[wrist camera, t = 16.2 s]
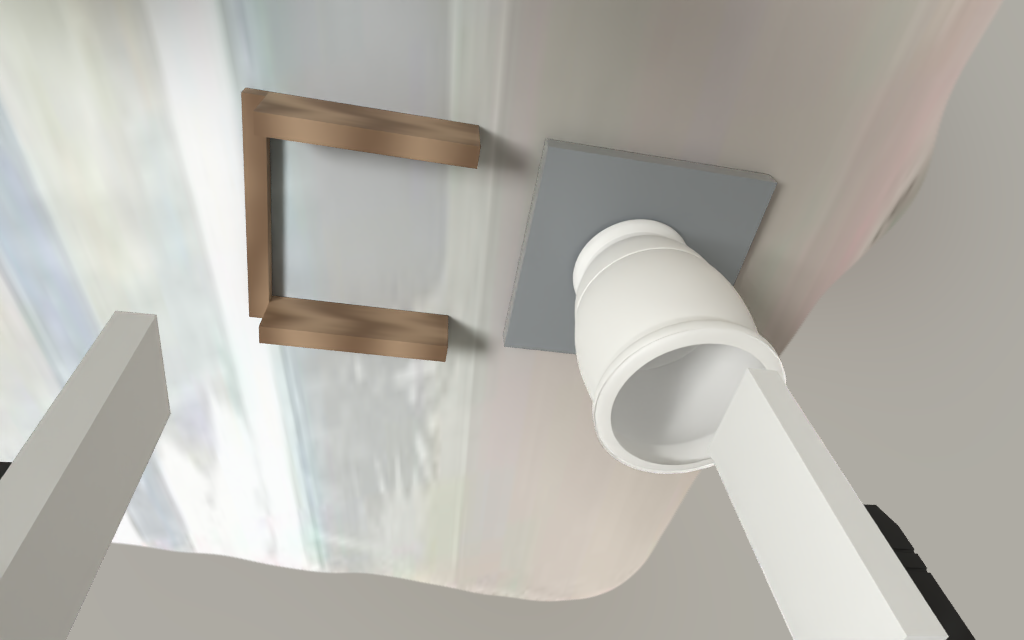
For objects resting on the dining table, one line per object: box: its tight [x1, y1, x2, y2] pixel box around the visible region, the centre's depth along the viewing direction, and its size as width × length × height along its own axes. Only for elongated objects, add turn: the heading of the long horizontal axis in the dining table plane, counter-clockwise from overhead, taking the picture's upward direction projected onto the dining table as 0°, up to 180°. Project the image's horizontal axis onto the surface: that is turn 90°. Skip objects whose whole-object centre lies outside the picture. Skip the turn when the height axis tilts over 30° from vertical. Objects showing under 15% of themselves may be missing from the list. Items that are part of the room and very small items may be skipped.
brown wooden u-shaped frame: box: [241, 88, 481, 362], centre depth 45 cm, size 14×16×4 cm
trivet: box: [503, 139, 777, 354], centre depth 49 cm, size 16×16×2 cm
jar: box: [573, 219, 786, 474], centre depth 42 cm, size 11×10×15 cm
